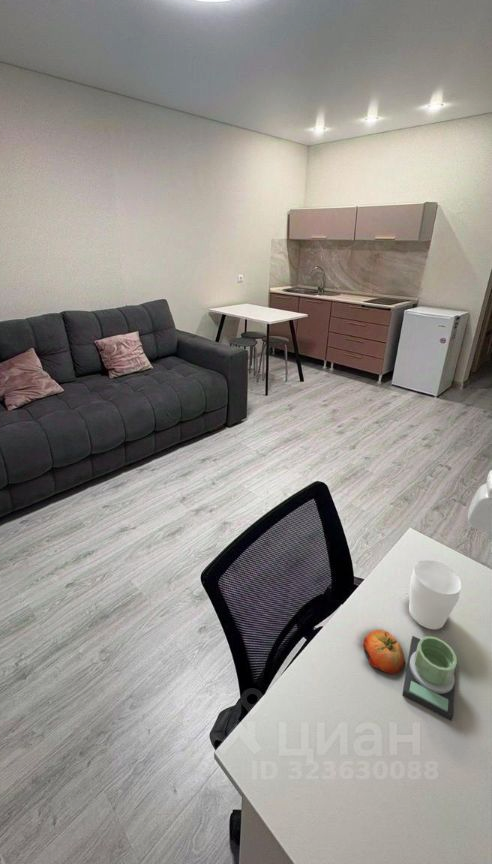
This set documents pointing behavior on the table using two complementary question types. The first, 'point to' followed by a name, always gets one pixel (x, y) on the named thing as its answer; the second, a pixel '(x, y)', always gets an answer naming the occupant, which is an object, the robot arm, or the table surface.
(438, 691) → the scale
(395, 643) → the tomato
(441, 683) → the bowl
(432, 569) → the cup
